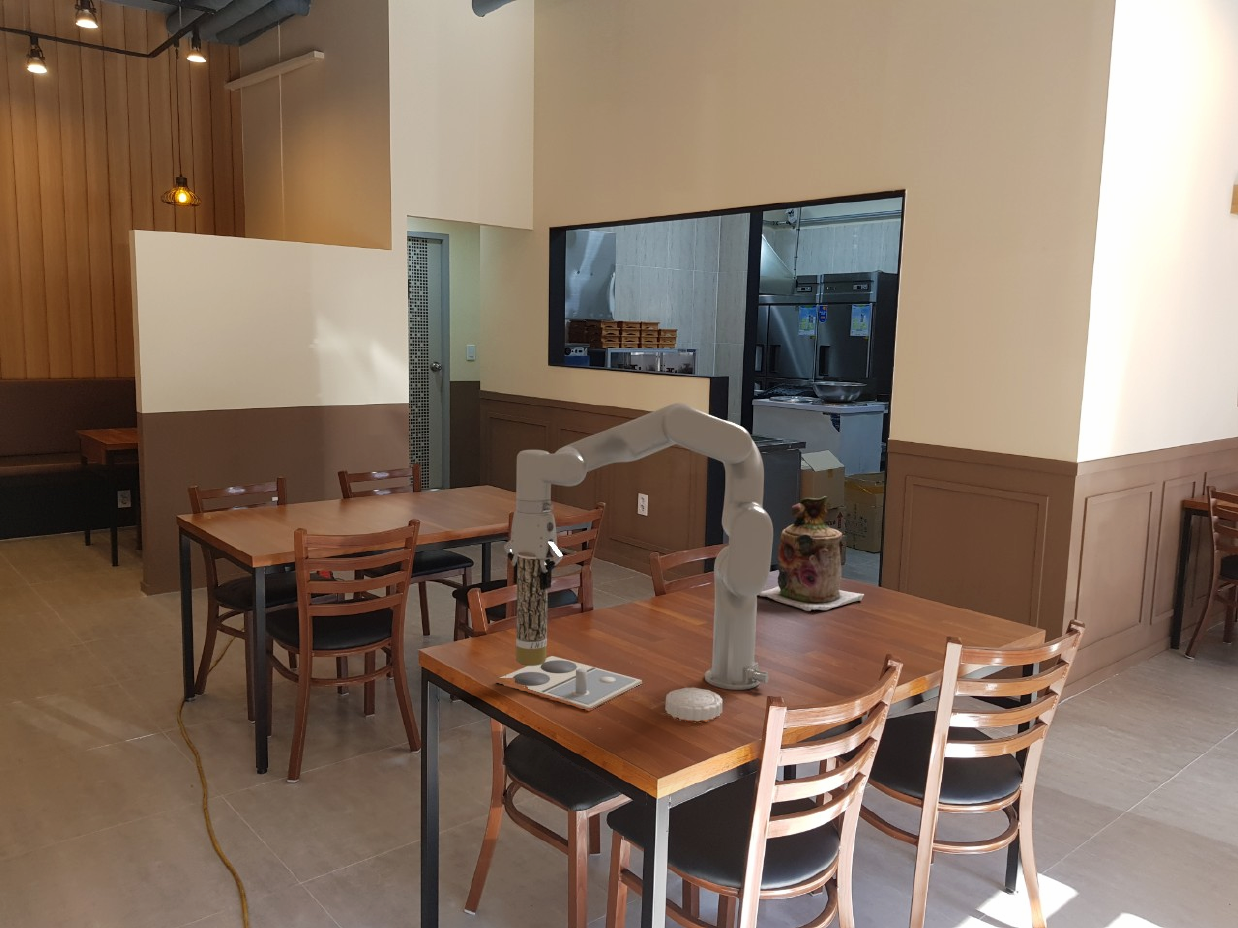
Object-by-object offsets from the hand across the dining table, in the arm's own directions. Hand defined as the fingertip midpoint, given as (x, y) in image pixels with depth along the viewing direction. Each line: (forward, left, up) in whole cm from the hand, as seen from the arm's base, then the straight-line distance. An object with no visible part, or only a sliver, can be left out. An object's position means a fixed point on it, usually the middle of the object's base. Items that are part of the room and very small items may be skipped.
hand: (532, 584), depth 213 cm
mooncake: (-37, -9, -23) cm, 45 cm away
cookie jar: (-20, -107, -23) cm, 111 cm away
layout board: (-7, -5, -23) cm, 24 cm away
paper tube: (0, 0, -18) cm, 18 cm away
